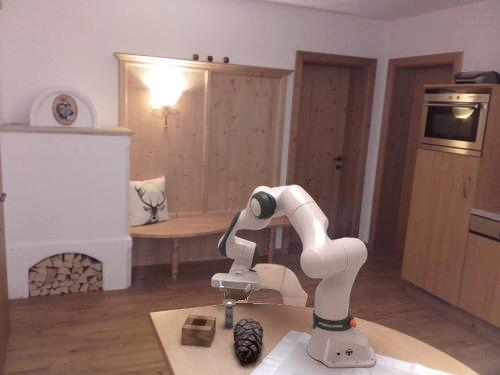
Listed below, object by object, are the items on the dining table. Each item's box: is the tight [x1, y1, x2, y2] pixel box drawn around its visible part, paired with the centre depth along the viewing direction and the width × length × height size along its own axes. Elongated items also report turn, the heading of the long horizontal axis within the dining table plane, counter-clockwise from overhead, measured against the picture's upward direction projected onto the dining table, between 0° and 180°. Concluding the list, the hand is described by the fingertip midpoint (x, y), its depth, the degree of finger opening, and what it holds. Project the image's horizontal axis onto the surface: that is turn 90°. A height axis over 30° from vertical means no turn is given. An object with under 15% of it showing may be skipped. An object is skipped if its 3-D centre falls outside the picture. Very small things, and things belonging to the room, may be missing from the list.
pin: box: [222, 298, 237, 329], centre depth 166 cm, size 5×5×10 cm
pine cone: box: [232, 318, 264, 367], centre depth 149 cm, size 10×18×10 cm, turn 7°
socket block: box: [181, 314, 217, 347], centre depth 158 cm, size 10×10×6 cm
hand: (233, 289), depth 177 cm, fingers open, 8 cm apart
